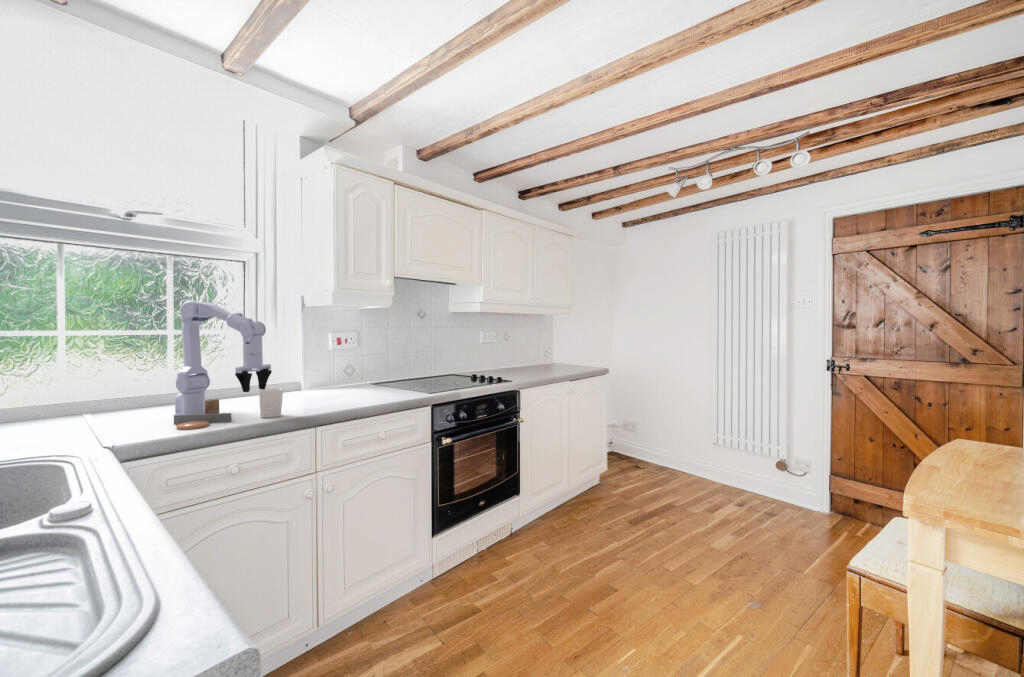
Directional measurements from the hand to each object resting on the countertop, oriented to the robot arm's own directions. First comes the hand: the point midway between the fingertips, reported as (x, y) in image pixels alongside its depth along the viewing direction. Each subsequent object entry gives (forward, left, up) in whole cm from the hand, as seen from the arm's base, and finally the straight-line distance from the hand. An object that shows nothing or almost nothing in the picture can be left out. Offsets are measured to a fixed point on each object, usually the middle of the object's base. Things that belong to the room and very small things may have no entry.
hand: (254, 390), depth 163 cm
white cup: (+4, +3, -10) cm, 11 cm away
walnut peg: (-14, -5, -10) cm, 18 cm away
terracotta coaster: (-9, -17, -10) cm, 22 cm away
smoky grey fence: (-12, -11, -10) cm, 19 cm away
